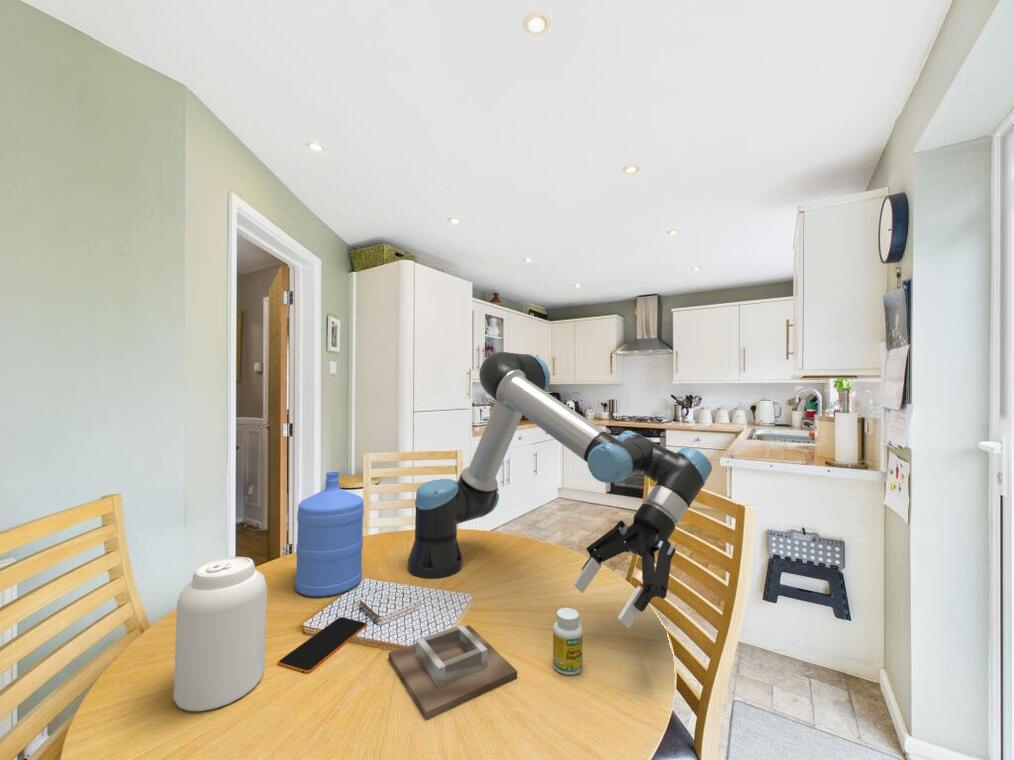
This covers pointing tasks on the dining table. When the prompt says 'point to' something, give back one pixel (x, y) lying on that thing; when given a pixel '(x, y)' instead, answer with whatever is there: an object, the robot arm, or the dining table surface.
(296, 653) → the smartphone
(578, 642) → the supplement bottle
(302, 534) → the water jug
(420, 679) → the square framed base tray
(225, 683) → the can
